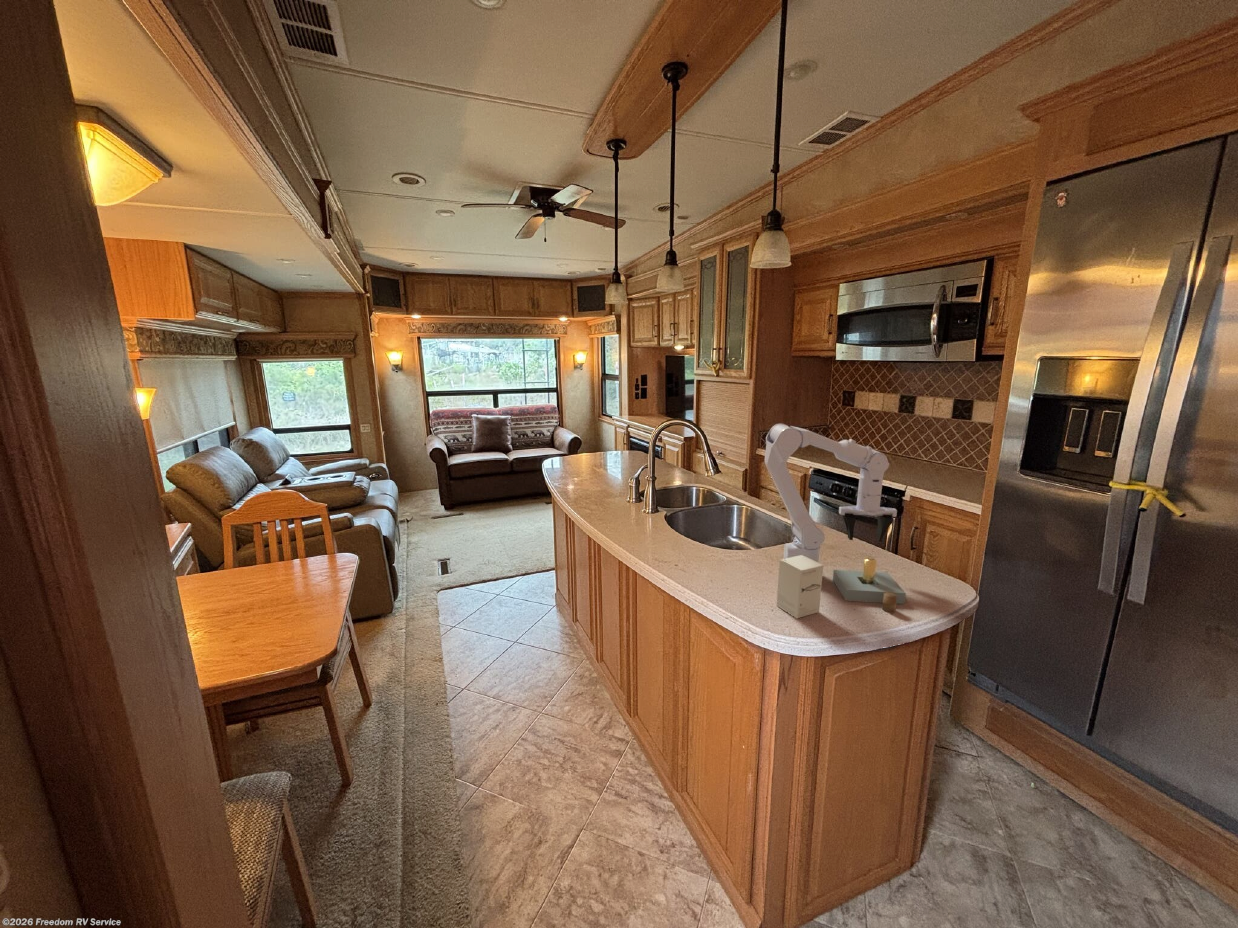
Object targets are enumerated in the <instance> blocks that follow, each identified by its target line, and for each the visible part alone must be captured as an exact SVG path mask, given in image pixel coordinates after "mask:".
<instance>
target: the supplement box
mask: <svg viewBox="0 0 1238 928" xmlns="http://www.w3.org/2000/svg"><path fill="white" fill-rule="evenodd" d="M778 566H779V567H778V579H777V580H778V581H777V593H776V594H777V595H776V606H777V607H778V608H780V609H781V610H783V611H784V612H786V613H787V612H788V613H787V614H789V615H790V614H791V615H790V616H792V617H793V616H794V617H793V618H795V619H799V618H802V617H806V616H809V615H813V614H816V613H819V612H820V607H821V606H820V605H821V598H822V597H821V596H822V595H821V593H822V587H823V586H822V584H823V576H824V575H823V574H824V564H822V563H820V562H819V563H818V562H816V561H814V560H811V559H809V558H807V557H805V556H803V555H799V556H795V557H790V558H786V559H783V558H782V559H779V564H778Z"/></svg>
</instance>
